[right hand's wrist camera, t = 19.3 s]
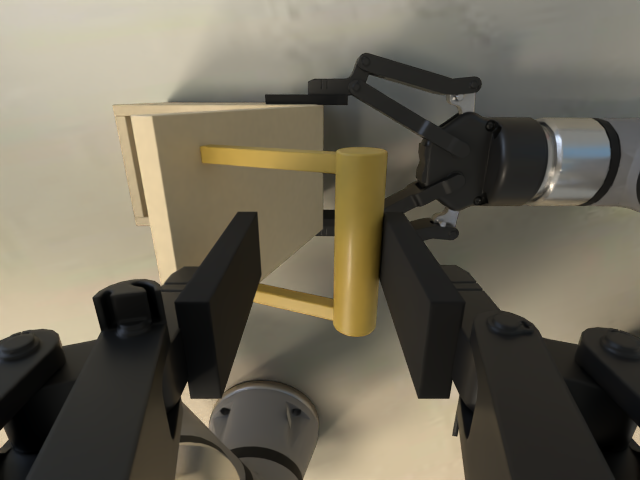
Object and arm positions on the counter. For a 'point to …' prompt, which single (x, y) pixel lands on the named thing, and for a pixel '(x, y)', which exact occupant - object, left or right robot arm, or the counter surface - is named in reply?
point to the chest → (129, 146)
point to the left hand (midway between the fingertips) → (270, 162)
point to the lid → (265, 199)
